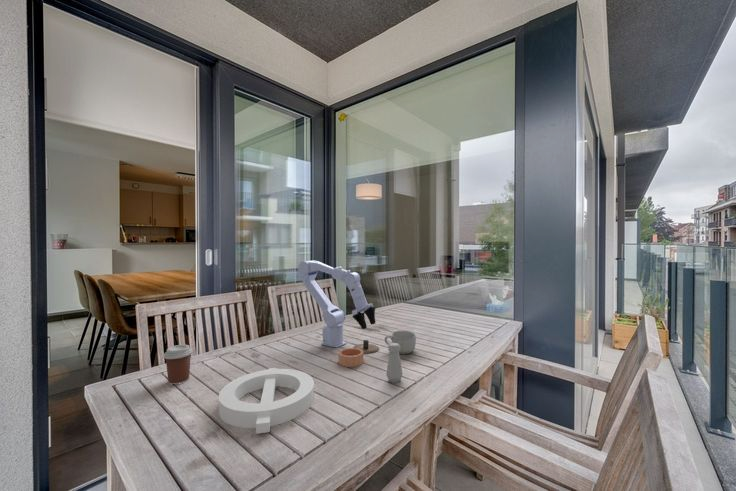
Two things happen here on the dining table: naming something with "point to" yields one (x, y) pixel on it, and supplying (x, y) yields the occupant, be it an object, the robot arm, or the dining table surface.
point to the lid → (367, 347)
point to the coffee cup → (178, 363)
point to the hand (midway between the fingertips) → (369, 326)
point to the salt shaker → (394, 363)
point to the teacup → (403, 341)
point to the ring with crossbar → (266, 399)
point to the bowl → (351, 357)
